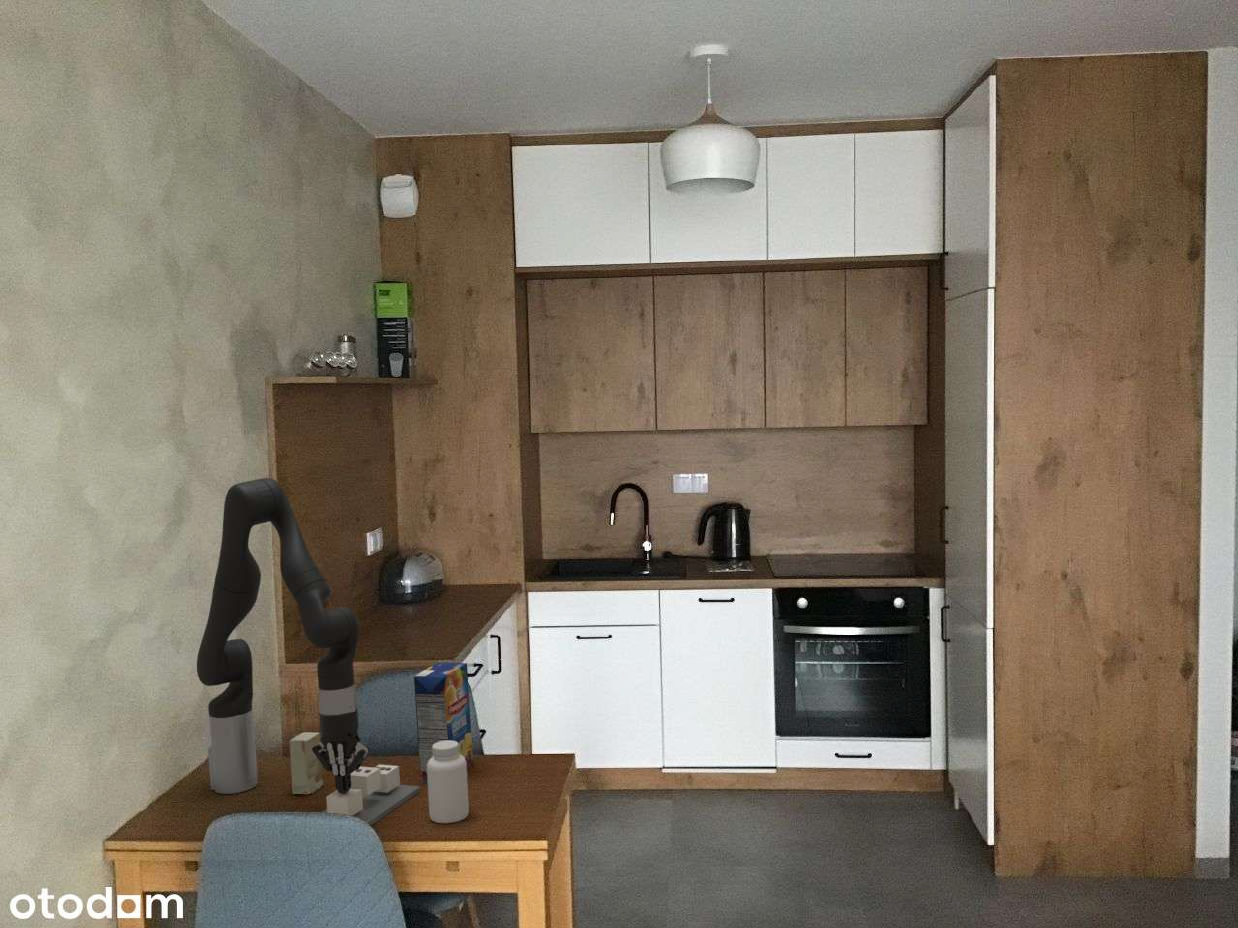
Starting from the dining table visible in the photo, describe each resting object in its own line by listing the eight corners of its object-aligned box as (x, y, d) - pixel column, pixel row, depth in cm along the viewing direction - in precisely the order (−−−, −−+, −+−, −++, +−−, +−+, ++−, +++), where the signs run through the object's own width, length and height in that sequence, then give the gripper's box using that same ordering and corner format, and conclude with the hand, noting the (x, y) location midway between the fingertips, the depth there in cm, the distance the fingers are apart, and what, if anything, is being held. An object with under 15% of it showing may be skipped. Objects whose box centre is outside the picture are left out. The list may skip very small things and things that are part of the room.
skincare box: (310, 795, 225) (306, 740, 225) (291, 795, 226) (288, 740, 226) (324, 784, 232) (320, 731, 231) (306, 784, 233) (302, 731, 232)
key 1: (327, 815, 209) (326, 794, 208) (342, 806, 213) (340, 785, 213) (348, 818, 207) (347, 797, 207) (362, 808, 212) (361, 787, 211)
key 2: (347, 793, 215) (346, 773, 215) (361, 784, 220) (360, 764, 220) (367, 795, 213) (366, 775, 213) (381, 786, 218) (380, 766, 218)
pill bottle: (451, 827, 204) (447, 752, 204) (421, 820, 209) (416, 747, 208) (477, 812, 211) (473, 740, 210) (447, 806, 215) (443, 735, 214)
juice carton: (444, 763, 242) (437, 662, 240) (473, 765, 240) (467, 663, 238) (420, 782, 230) (413, 676, 229) (451, 783, 228) (444, 676, 227)
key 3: (367, 790, 222) (366, 770, 222) (380, 782, 226) (379, 762, 226) (387, 792, 220) (386, 772, 220) (400, 783, 225) (398, 764, 224)
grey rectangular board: (307, 825, 209) (306, 821, 209) (369, 786, 229) (368, 781, 229) (361, 831, 204) (361, 826, 204) (420, 790, 225) (419, 786, 225)
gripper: (299, 711, 208) (305, 796, 209) (354, 715, 203) (360, 801, 204) (322, 700, 215) (327, 782, 216) (376, 704, 210) (382, 787, 211)
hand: (344, 791), depth 210 cm, fingers closed
